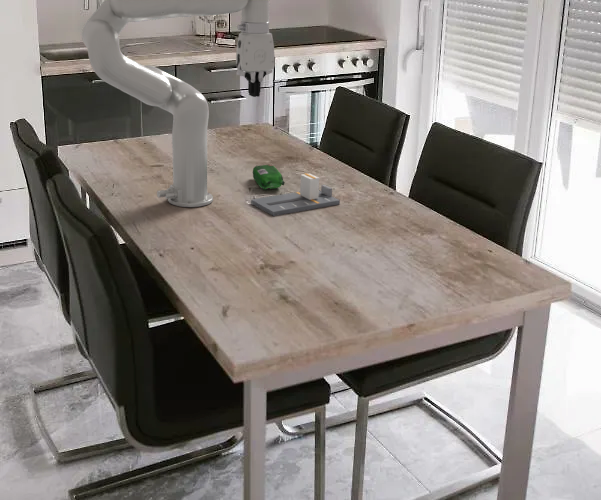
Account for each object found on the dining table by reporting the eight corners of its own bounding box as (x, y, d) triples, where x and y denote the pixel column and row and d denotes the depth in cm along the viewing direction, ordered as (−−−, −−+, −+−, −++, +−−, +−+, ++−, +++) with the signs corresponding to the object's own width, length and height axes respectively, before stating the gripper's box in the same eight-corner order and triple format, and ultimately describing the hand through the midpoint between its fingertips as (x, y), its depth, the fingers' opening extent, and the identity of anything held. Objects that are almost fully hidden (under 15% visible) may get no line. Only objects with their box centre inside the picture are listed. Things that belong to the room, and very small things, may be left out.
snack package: (261, 194, 262) (262, 177, 260) (250, 178, 276) (250, 162, 274) (285, 193, 264) (285, 176, 262) (272, 177, 278) (273, 161, 276)
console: (273, 216, 244) (273, 203, 242) (251, 203, 253) (251, 191, 252) (339, 204, 255) (340, 192, 254) (316, 192, 264) (316, 180, 263)
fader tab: (309, 199, 253) (310, 178, 251) (300, 194, 257) (300, 174, 255) (318, 198, 255) (319, 177, 252) (308, 193, 258) (309, 172, 256)
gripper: (237, 31, 236) (237, 100, 242) (286, 28, 243) (284, 96, 250) (224, 27, 241) (224, 95, 248) (271, 25, 249) (270, 91, 256)
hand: (254, 95), depth 249 cm, fingers closed
